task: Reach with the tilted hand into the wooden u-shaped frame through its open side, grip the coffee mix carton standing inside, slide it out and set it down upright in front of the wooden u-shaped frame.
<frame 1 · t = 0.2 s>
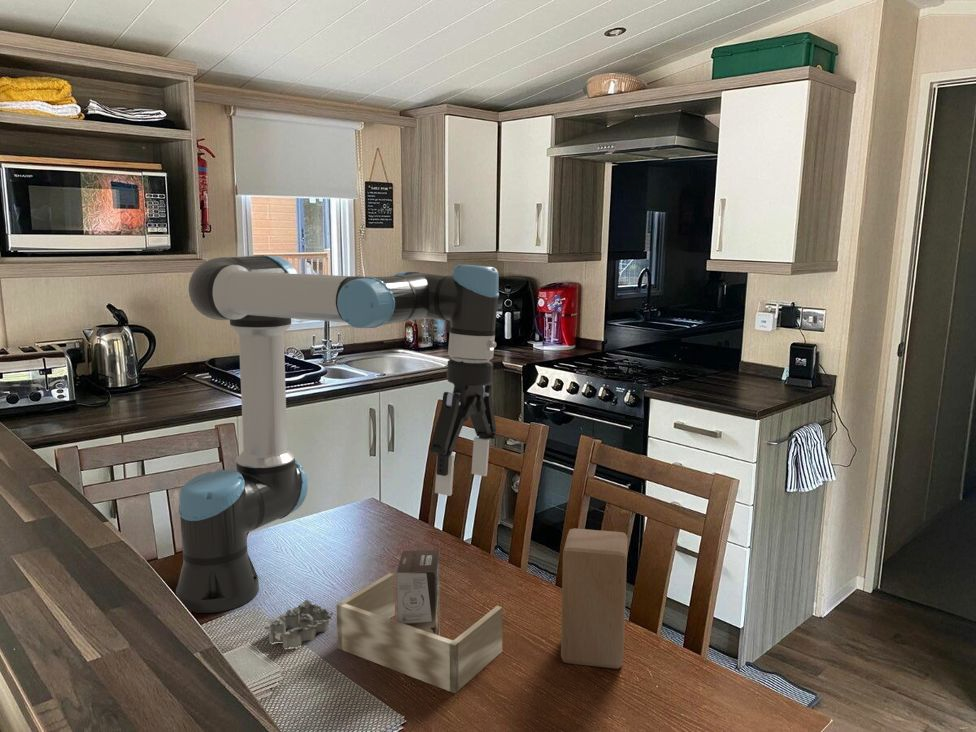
hand: (462, 484, 128), 28 cm above the table, tool pointing down, fingers open, 13 cm apart
egg carton: (299, 636, 133), on the table
block: (592, 652, 128), on the table
coffee box: (419, 651, 128), on the table
wooden u-shaped frame: (419, 649, 128), on the table
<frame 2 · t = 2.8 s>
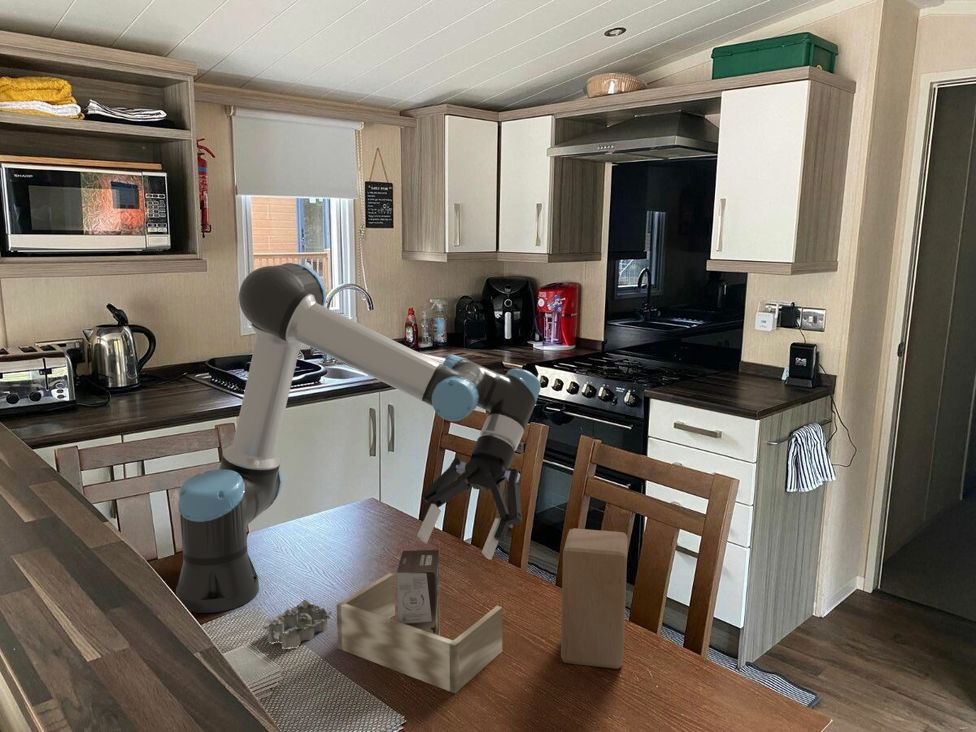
hand: (453, 547, 133), 15 cm above the table, tool tilted 45°, fingers open, 13 cm apart
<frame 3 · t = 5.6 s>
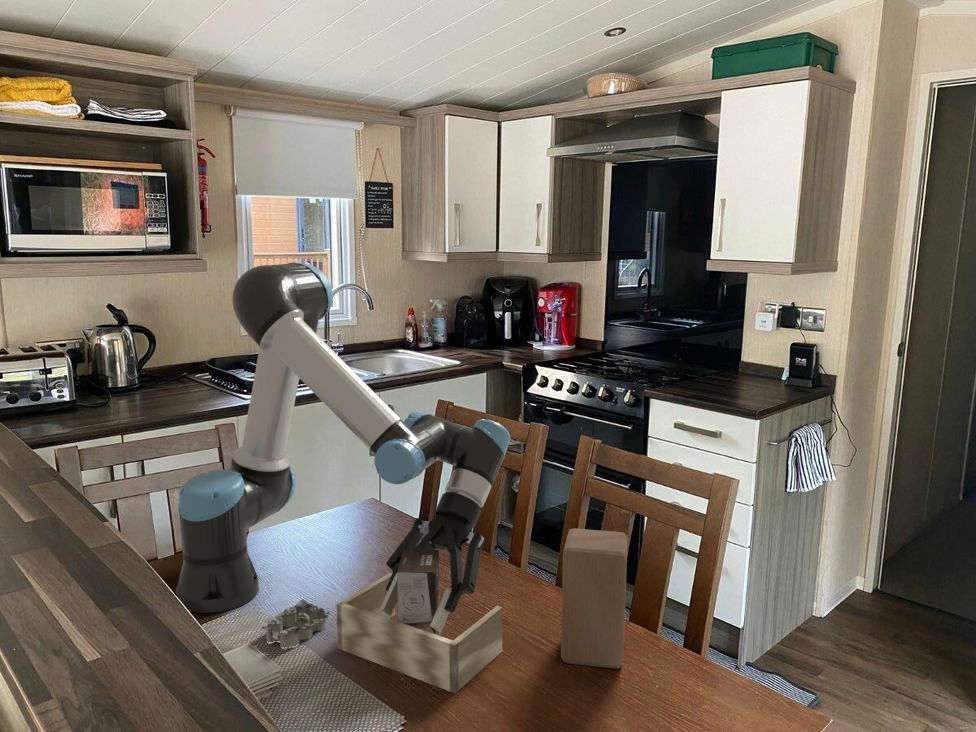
hand: (409, 620, 125), 7 cm above the table, tool tilted 45°, fingers closed on coffee box, 10 cm apart
coffee box: (420, 650, 128), on the table, touching gripper
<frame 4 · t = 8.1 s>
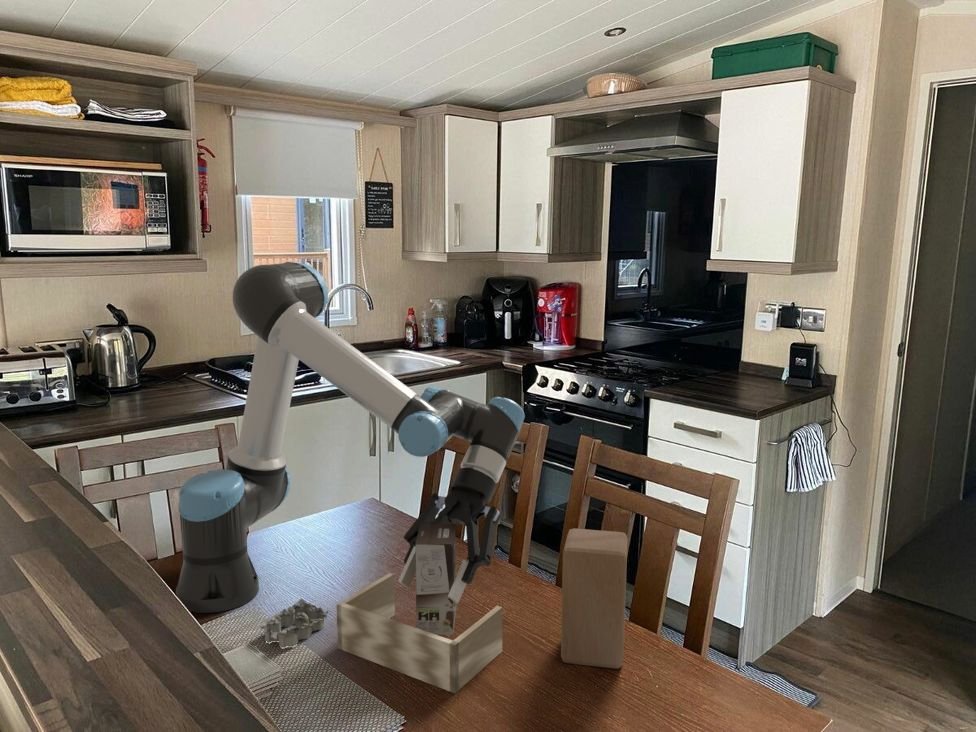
hand: (427, 592, 128), 10 cm above the table, tool tilted 45°, fingers closed on coffee box, 10 cm apart
coffee box: (437, 622, 131), point 3 cm above the table, touching gripper
everything else where it was.
when the fingers open (8 cm above the table, at t = 10.9 s): coffee box drops 2 cm, on the table.
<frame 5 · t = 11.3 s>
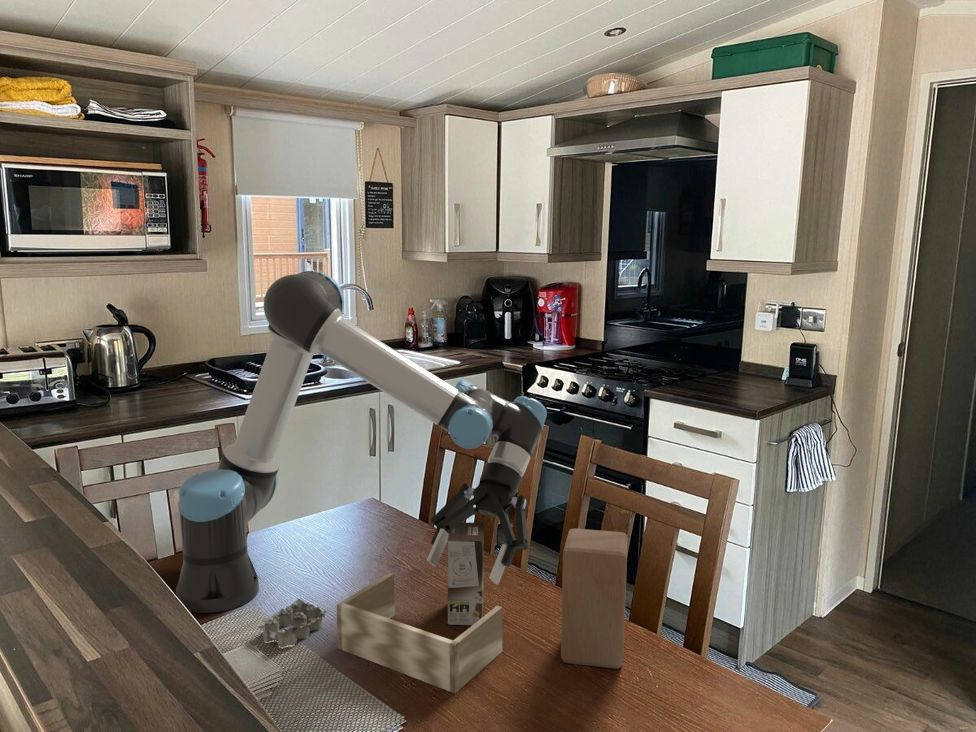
hand: (461, 572, 137), 9 cm above the table, tool tilted 45°, fingers open, 13 cm apart
coffee box: (466, 614, 140), on the table
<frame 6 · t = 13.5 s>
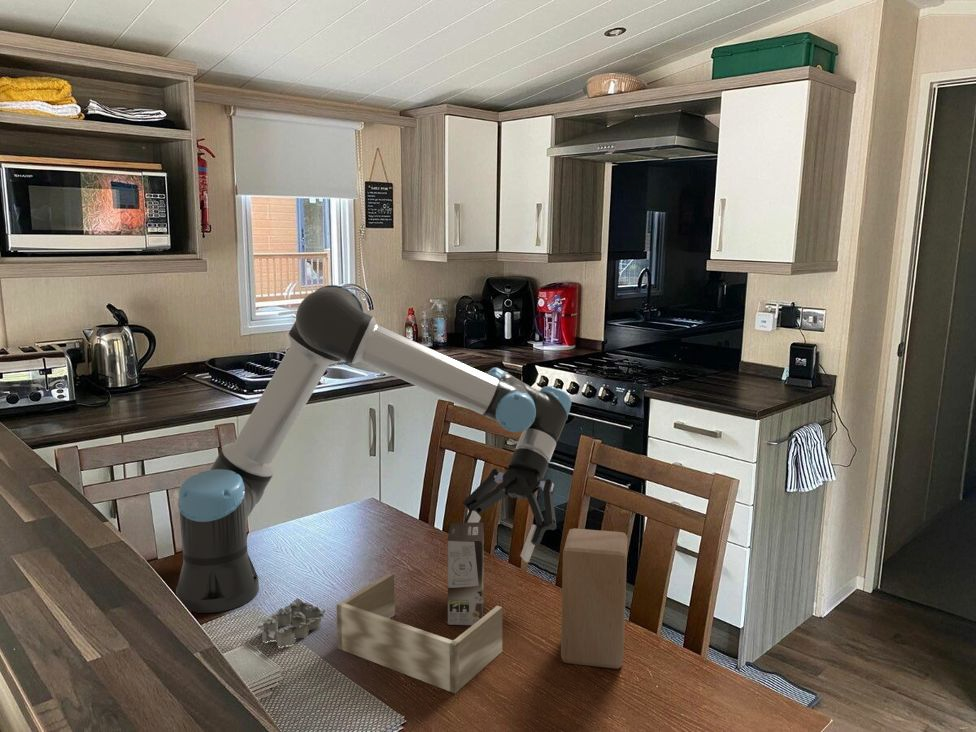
hand: (493, 551, 146), 9 cm above the table, tool tilted 45°, fingers open, 13 cm apart
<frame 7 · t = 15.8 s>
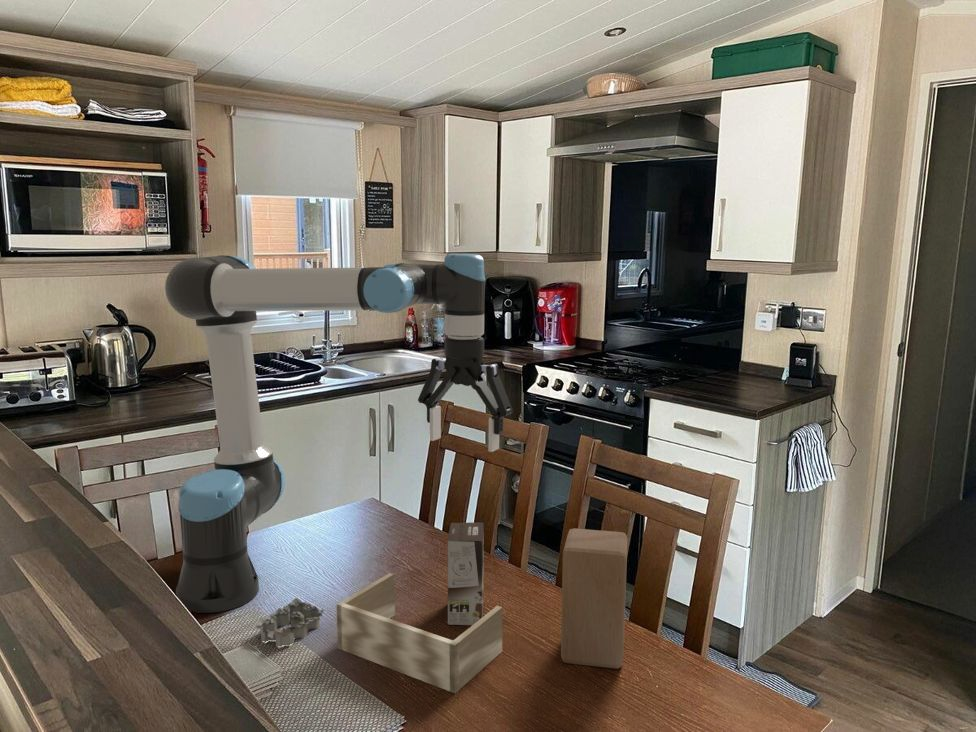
hand: (463, 444, 148), 29 cm above the table, tool pointing down, fingers open, 13 cm apart
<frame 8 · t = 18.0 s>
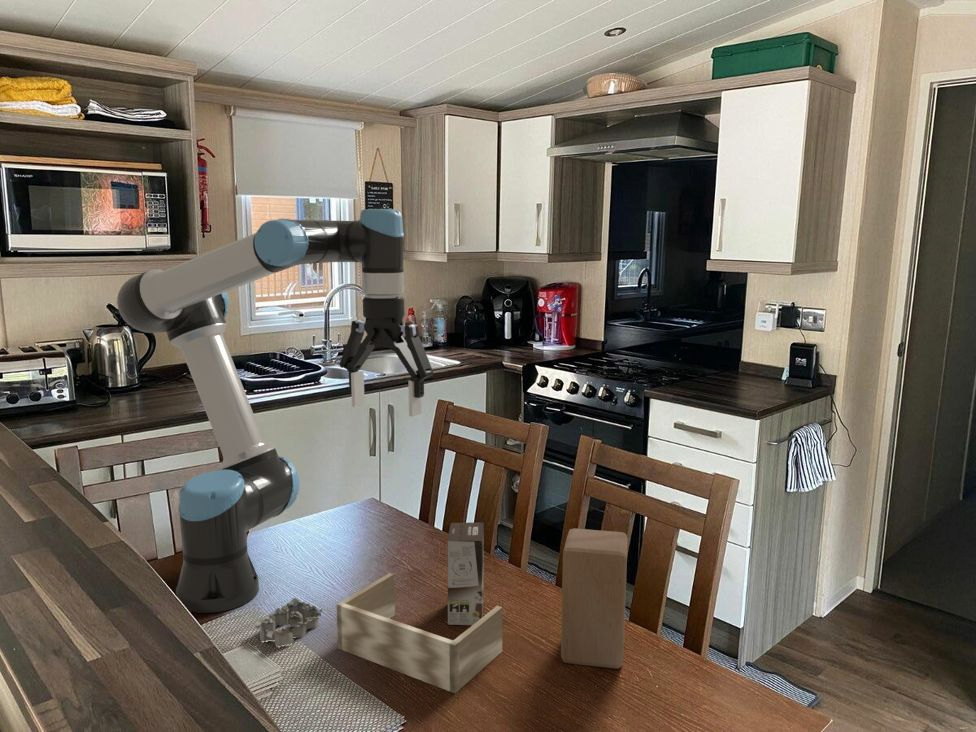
hand: (386, 410, 141), 37 cm above the table, tool pointing down, fingers open, 13 cm apart
at the end: coffee box inside the target area (1.4 cm from its centre), on the table; coffee box tilted 0°; the gripper is holding nothing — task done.
